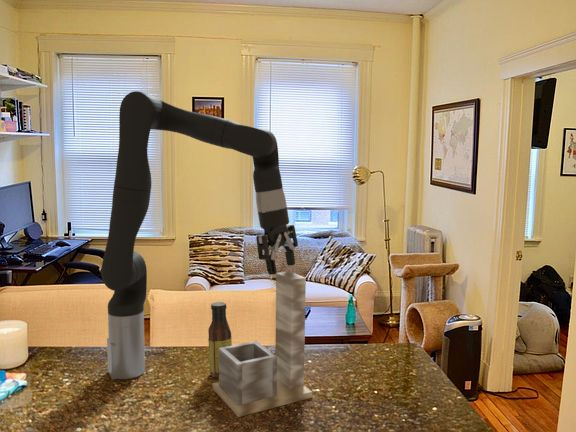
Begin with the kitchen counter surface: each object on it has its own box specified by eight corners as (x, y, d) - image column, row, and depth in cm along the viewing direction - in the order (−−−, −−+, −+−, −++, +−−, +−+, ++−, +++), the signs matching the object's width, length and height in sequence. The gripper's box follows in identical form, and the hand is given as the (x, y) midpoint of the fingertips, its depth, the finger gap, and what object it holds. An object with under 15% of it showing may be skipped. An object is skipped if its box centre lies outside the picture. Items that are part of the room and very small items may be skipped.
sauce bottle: (236, 372, 139) (236, 302, 136) (224, 381, 133) (224, 308, 131) (216, 367, 141) (216, 299, 139) (204, 376, 136) (203, 305, 133)
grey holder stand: (238, 417, 115) (238, 291, 111) (212, 388, 129) (212, 276, 125) (312, 397, 125) (314, 281, 121) (281, 373, 138) (282, 268, 135)
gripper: (276, 204, 135) (285, 262, 137) (243, 214, 124) (254, 277, 126) (299, 202, 131) (308, 262, 133) (267, 211, 120) (278, 277, 121)
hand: (282, 269), depth 129 cm, fingers open, 8 cm apart
